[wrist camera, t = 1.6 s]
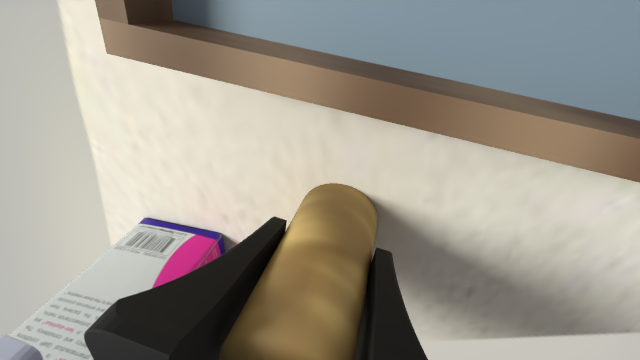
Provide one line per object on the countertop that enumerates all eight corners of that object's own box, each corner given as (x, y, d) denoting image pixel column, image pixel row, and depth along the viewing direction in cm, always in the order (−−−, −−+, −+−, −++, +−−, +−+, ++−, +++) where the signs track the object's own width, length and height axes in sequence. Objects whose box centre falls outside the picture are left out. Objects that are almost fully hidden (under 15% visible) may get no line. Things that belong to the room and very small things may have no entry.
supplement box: (166, 277, 23) (-11, 476, 13) (144, 215, 20) (-106, 416, 10) (236, 295, 22) (96, 529, 12) (224, 232, 19) (24, 479, 9)
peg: (387, 196, 14) (362, 371, 8) (367, 255, 16) (334, 431, 10) (306, 174, 15) (216, 318, 8) (297, 234, 17) (221, 385, 10)
